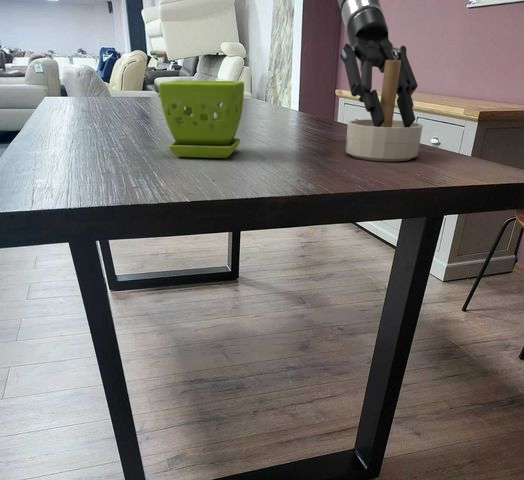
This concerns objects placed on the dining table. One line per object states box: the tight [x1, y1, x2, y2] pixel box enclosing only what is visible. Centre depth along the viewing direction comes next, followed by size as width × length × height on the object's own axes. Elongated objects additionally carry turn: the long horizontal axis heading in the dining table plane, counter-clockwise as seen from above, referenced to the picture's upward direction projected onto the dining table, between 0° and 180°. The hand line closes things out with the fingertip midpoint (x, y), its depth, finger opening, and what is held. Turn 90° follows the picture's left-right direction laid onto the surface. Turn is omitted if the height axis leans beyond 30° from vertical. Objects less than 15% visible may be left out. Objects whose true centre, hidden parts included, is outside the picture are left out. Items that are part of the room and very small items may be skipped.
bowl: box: [344, 118, 424, 162], centre depth 97 cm, size 14×14×6 cm
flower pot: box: [158, 80, 245, 159], centre depth 93 cm, size 14×14×13 cm
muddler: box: [379, 60, 401, 127], centre depth 94 cm, size 5×5×16 cm
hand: (395, 124), depth 92 cm, fingers open, 6 cm apart
